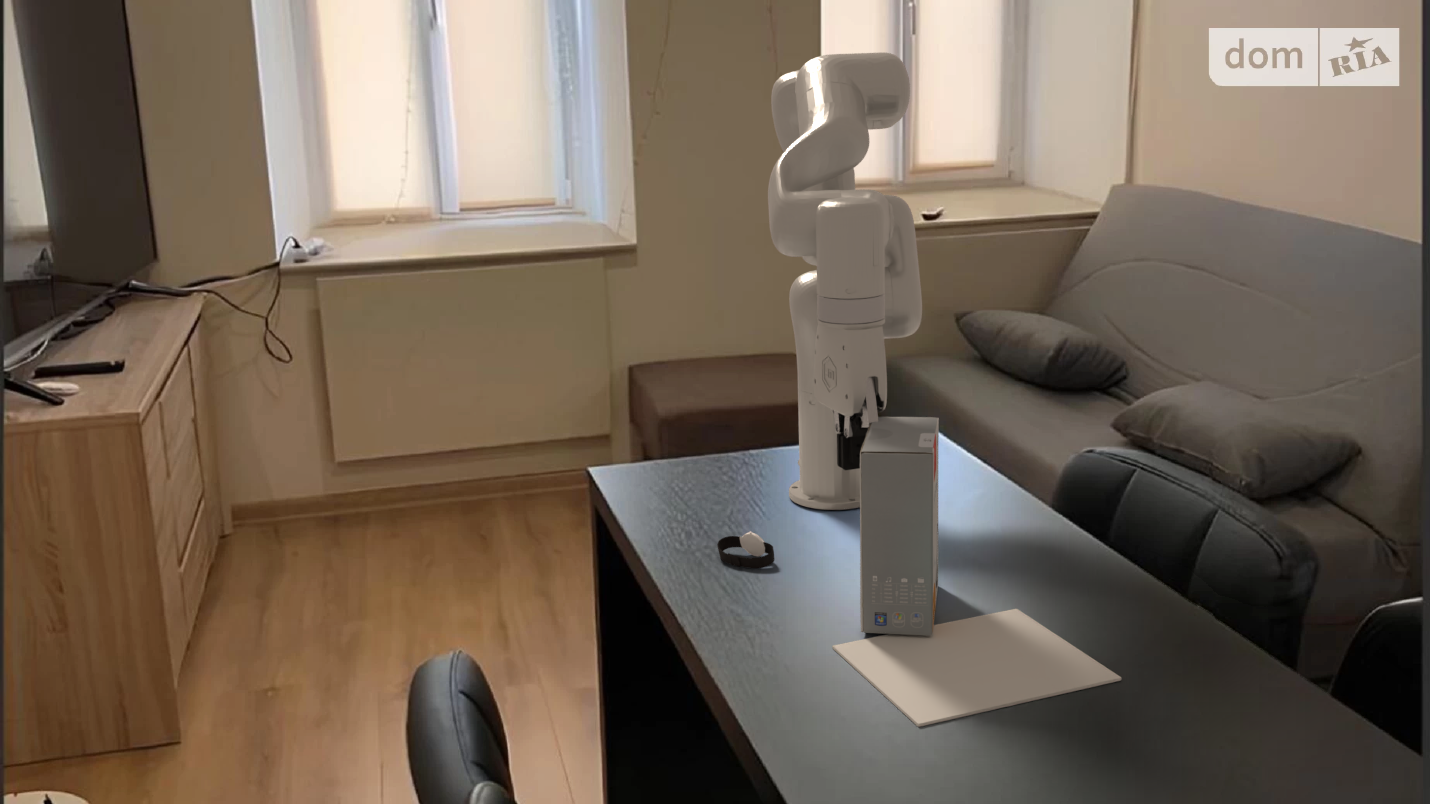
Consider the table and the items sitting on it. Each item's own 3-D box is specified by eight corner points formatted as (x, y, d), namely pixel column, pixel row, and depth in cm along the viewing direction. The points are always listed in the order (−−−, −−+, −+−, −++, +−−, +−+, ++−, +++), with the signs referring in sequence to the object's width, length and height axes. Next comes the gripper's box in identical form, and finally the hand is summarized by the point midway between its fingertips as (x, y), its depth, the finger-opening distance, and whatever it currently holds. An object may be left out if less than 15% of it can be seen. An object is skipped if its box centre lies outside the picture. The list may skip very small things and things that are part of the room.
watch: (783, 562, 159) (782, 534, 158) (761, 575, 155) (760, 546, 154) (731, 550, 163) (730, 523, 162) (709, 562, 160) (707, 534, 159)
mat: (832, 648, 135) (832, 645, 135) (1016, 611, 142) (1016, 608, 142) (918, 726, 118) (918, 723, 118) (1121, 680, 126) (1121, 677, 126)
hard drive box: (934, 638, 135) (933, 452, 131) (860, 635, 137) (856, 451, 132) (939, 583, 150) (939, 414, 145) (872, 581, 152) (869, 414, 147)
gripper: (793, 302, 152) (796, 454, 156) (850, 324, 138) (852, 490, 143) (851, 296, 154) (853, 446, 159) (913, 317, 141) (913, 480, 145)
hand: (852, 466), depth 151 cm, fingers closed
